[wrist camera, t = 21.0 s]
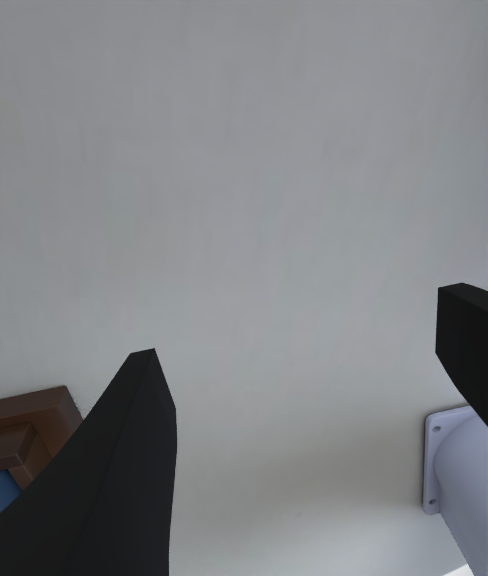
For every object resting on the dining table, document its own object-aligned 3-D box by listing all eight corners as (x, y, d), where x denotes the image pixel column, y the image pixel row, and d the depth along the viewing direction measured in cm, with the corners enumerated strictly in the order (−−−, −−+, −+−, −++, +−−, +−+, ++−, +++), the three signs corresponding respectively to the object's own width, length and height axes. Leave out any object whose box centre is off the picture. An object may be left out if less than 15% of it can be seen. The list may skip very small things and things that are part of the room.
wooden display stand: (153, 557, 30) (149, 614, 27) (11, 588, 30) (-9, 649, 27) (65, 384, 22) (45, 437, 19) (-126, 425, 22) (-177, 485, 19)
